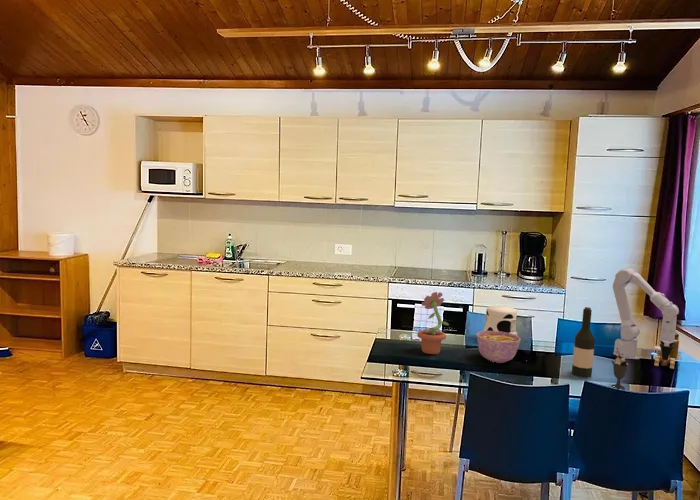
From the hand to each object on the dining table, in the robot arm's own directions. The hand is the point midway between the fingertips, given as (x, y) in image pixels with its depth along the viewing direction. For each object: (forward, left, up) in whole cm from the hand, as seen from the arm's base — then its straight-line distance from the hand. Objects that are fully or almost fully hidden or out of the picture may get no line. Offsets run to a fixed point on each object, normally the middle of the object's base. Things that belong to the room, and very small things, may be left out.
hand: (665, 357), depth 255 cm
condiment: (+12, +15, -4) cm, 19 cm away
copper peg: (0, 0, -4) cm, 4 cm away
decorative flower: (-110, +7, -4) cm, 111 cm away
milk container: (-70, +30, -4) cm, 77 cm away
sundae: (-39, -32, -4) cm, 51 cm away
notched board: (+1, +1, -4) cm, 4 cm away
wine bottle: (-48, -18, -4) cm, 52 cm away
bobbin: (+4, +9, -4) cm, 10 cm away
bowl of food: (-81, -2, -4) cm, 82 cm away
